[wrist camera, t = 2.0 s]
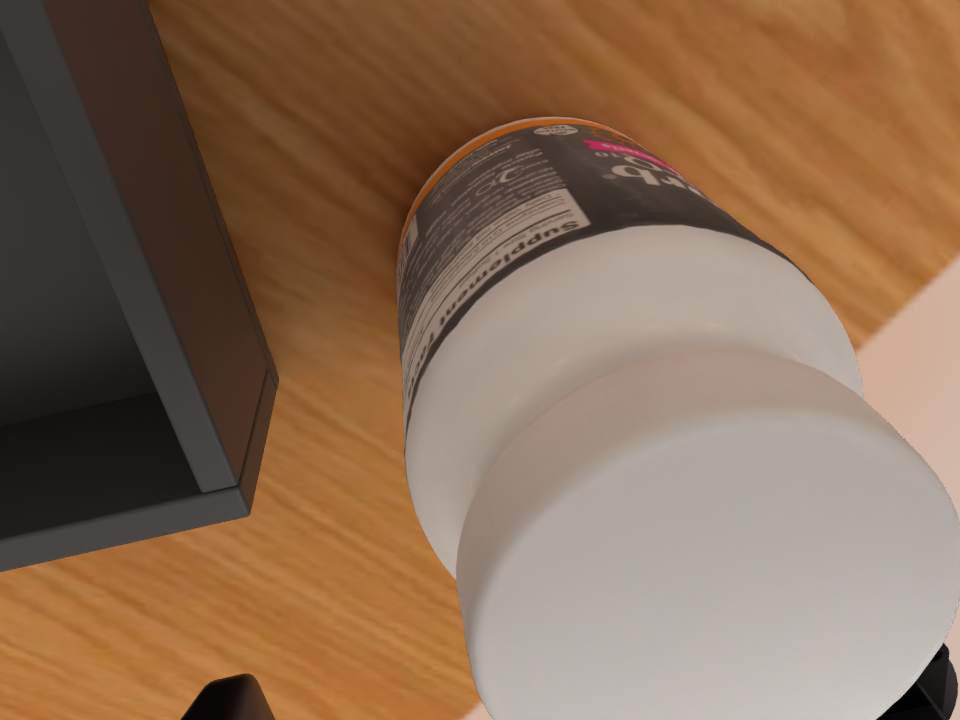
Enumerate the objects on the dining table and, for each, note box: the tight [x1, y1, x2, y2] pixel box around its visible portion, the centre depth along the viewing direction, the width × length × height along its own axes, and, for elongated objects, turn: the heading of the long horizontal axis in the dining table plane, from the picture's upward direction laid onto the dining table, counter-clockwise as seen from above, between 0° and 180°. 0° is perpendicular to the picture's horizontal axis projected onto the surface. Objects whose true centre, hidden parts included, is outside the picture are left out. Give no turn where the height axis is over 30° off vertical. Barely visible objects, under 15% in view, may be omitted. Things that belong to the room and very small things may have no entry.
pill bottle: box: [396, 116, 960, 720], centre depth 12 cm, size 6×6×10 cm
